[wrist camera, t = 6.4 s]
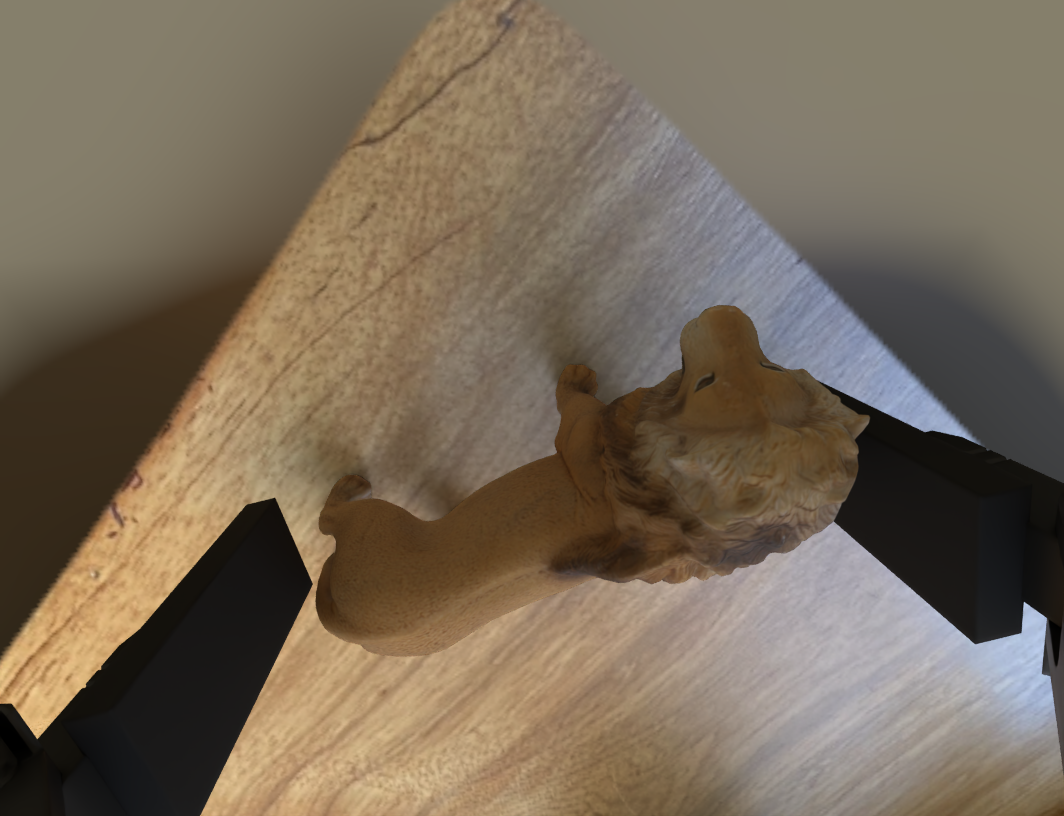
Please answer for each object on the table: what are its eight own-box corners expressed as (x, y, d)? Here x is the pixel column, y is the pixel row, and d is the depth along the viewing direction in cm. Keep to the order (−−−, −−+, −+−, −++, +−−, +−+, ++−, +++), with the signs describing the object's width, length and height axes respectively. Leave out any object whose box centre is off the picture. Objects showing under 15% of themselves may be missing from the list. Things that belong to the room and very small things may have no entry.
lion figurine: (664, 251, 16) (845, 285, 8) (745, 392, 18) (969, 548, 9) (281, 512, 18) (94, 766, 10) (384, 619, 20) (300, 918, 11)
